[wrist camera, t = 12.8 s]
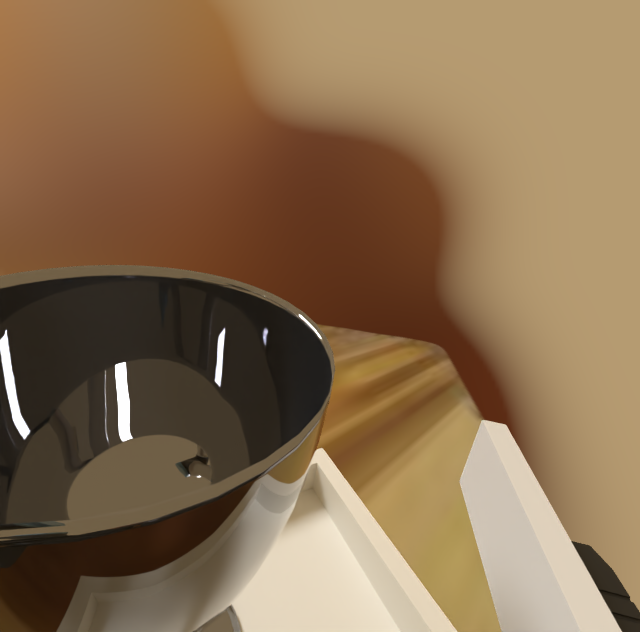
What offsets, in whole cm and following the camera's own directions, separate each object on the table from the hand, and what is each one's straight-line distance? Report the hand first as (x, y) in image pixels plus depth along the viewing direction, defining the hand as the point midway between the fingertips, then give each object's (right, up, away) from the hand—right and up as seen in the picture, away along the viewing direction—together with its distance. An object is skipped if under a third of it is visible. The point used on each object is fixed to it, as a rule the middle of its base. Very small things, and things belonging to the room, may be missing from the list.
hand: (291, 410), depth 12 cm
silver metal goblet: (-6, -10, +1) cm, 12 cm away
